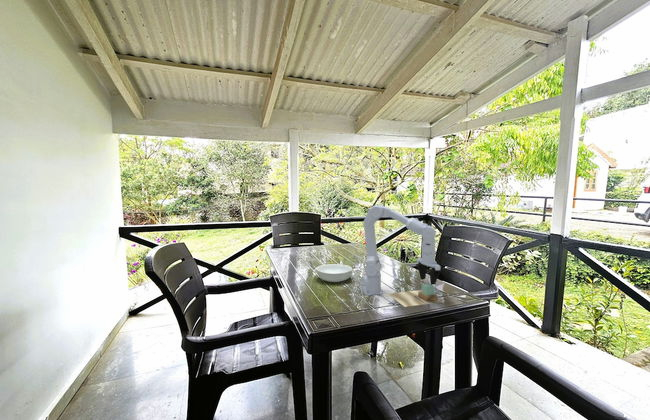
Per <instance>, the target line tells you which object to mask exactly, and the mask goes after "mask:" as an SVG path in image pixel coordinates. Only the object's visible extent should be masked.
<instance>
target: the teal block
mask: <svg viewBox="0 0 650 420" xmlns="http://www.w3.org/2000/svg"><path fill="white" fill-rule="evenodd" d="M421 290H422V293H423V294H425V295H434V293H435V285H434V284H433V285H431V283H422V284H421Z"/></svg>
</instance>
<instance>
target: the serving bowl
mask: <svg viewBox="0 0 650 420" xmlns="http://www.w3.org/2000/svg"><path fill="white" fill-rule="evenodd" d="M315 269H316V274H317V276H318V277H319V278H320V279H321V280H323V281H326V282H330V283H340V282H343V281H346V280H348V279H349V278H350V277H351V275H352V273H353V268H352V267H351V266H350V265H346V264H342V263H328V264H327V263H326V264H322V265H319V266H317V267H316V268H315Z"/></svg>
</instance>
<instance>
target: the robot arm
mask: <svg viewBox="0 0 650 420" xmlns="http://www.w3.org/2000/svg"><path fill="white" fill-rule="evenodd" d="M381 218H391V219H394V220H395V221H397V222H399V223H402V224H403V225H405V227H406V229H407V230H409V231H411V232H413V233H414V234H417V235H419V236H421V237H422V241H421V257H420V258H416V262H417V263H416V264H415V266H416V268H417V270H418V274H419V279H420V280H425V279H426V277H427V271H428V274H429V282H430V283H429V284H431V285H433V286H434V285H436V284H437V281H438V278H439V275H440V273H442V269H441V265H440V264H438V263H437V261H436V238H435V237H436V233H437V232H436V229H435V228H434V227H433V226H431V225H428V223H425V222H422V221H420V220H419V218H417V217H415V218H414V217H411V218H408V217H407V216H405V215H403V214H401V213H400V212H398V211H396V210H395V209H393V208H391V207H388V206H384V205H383V204H377V205H375V204H374V205H373V206H371V207H370V208H369V209H368V210H367V213H366V215H365V218H364V219H363V231H364V237H365V238H364V241H365V248H366V256H367V257H366V261H365V262H366V264H365V268H364V270H365V275H362V276H361V278H360V291H361V292H362V293H363V294H364V295H366V296H375V295H383V294H385V292H384V291H382V290H381V288H382V284H381V282H382V281H381V280H382V273H381V272H380V271H381V270H382V262H381V261H380V258H379V255H378V248H377V238H376V229H375V224H376V223H377V221H379V219H381ZM428 267H429V268H428Z"/></svg>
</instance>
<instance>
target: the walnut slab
mask: <svg viewBox="0 0 650 420" xmlns="http://www.w3.org/2000/svg"><path fill="white" fill-rule="evenodd" d="M418 297H419V298H421V299H422V300H424V301H425V302H430V301H437V300H438V298H439V297H438V294H437V293H435V292H434V295H425V294H423V293H422V292H418Z"/></svg>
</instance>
